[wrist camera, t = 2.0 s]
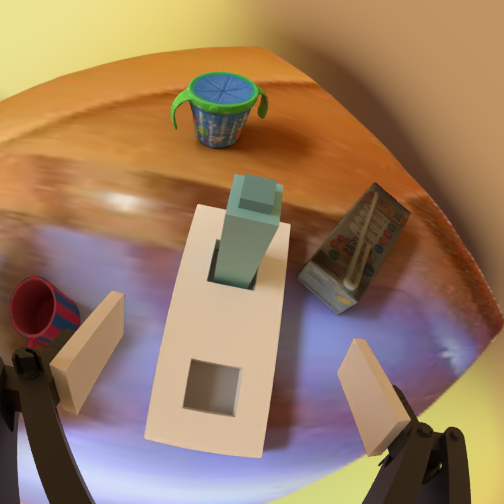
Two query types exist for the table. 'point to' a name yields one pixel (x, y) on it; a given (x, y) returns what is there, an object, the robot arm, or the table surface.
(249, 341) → the socket panel
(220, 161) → the table surface
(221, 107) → the sippy cup
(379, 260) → the beverage carton
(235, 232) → the plug
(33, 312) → the cup
